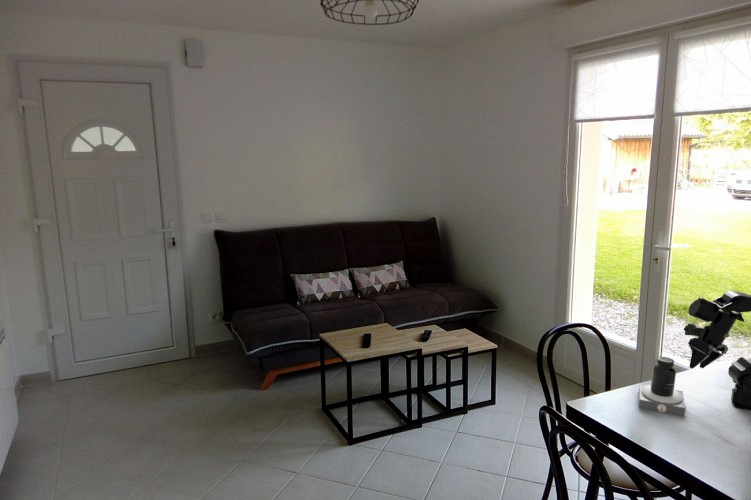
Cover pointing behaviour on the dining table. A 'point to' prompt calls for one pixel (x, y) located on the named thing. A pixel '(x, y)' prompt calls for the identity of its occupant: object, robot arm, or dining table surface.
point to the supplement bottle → (663, 377)
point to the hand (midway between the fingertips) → (696, 367)
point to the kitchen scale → (661, 401)
